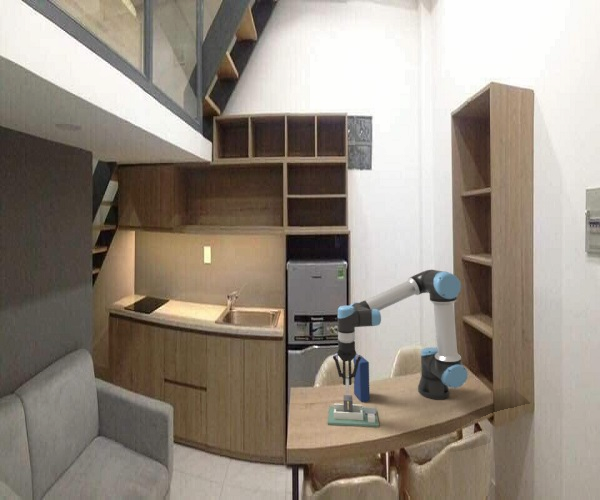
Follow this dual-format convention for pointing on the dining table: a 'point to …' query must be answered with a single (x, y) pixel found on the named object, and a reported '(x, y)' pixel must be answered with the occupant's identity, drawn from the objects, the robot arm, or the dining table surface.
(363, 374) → the tall blue block
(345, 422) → the header board
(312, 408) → the dining table surface
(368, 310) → the robot arm
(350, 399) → the grey upright block
